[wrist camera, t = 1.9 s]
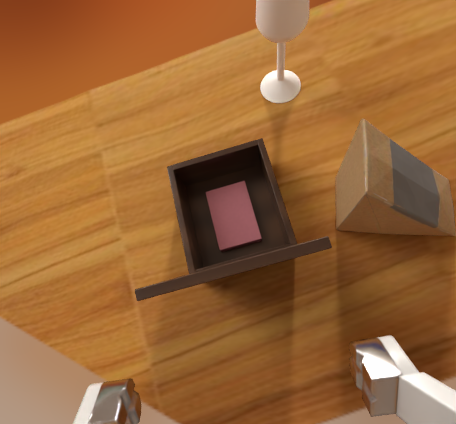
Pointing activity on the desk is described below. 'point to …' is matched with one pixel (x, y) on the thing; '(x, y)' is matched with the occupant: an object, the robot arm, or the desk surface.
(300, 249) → the chest lid
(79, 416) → the robot arm
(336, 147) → the desk surface
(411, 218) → the sandwich container
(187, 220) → the chest
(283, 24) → the champagne flute
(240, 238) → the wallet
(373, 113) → the desk surface
